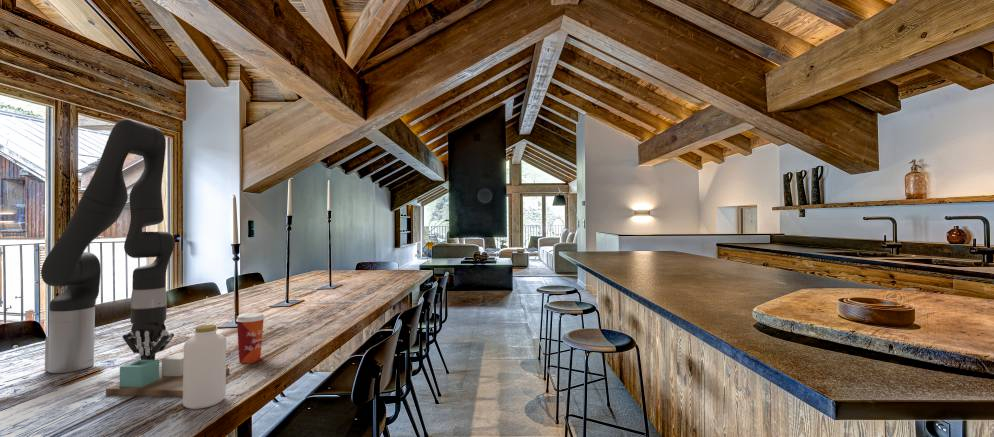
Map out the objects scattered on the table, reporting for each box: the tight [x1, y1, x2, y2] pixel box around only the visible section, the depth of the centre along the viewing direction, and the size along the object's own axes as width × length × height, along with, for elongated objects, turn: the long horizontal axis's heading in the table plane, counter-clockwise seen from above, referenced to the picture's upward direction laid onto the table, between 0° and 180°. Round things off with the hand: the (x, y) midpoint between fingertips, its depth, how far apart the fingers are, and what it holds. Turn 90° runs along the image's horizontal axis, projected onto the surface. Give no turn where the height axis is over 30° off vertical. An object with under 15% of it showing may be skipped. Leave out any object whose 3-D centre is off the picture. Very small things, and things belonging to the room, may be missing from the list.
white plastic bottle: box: [182, 324, 227, 410], centre depth 98 cm, size 8×8×18 cm
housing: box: [161, 352, 184, 376], centre depth 113 cm, size 5×5×4 cm
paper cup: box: [235, 312, 266, 364], centre depth 129 cm, size 8×8×14 cm
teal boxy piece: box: [119, 359, 160, 387], centre depth 106 cm, size 5×5×5 cm
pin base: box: [105, 364, 230, 398], centre depth 110 cm, size 20×16×6 cm
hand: (147, 368), depth 114 cm, fingers closed
